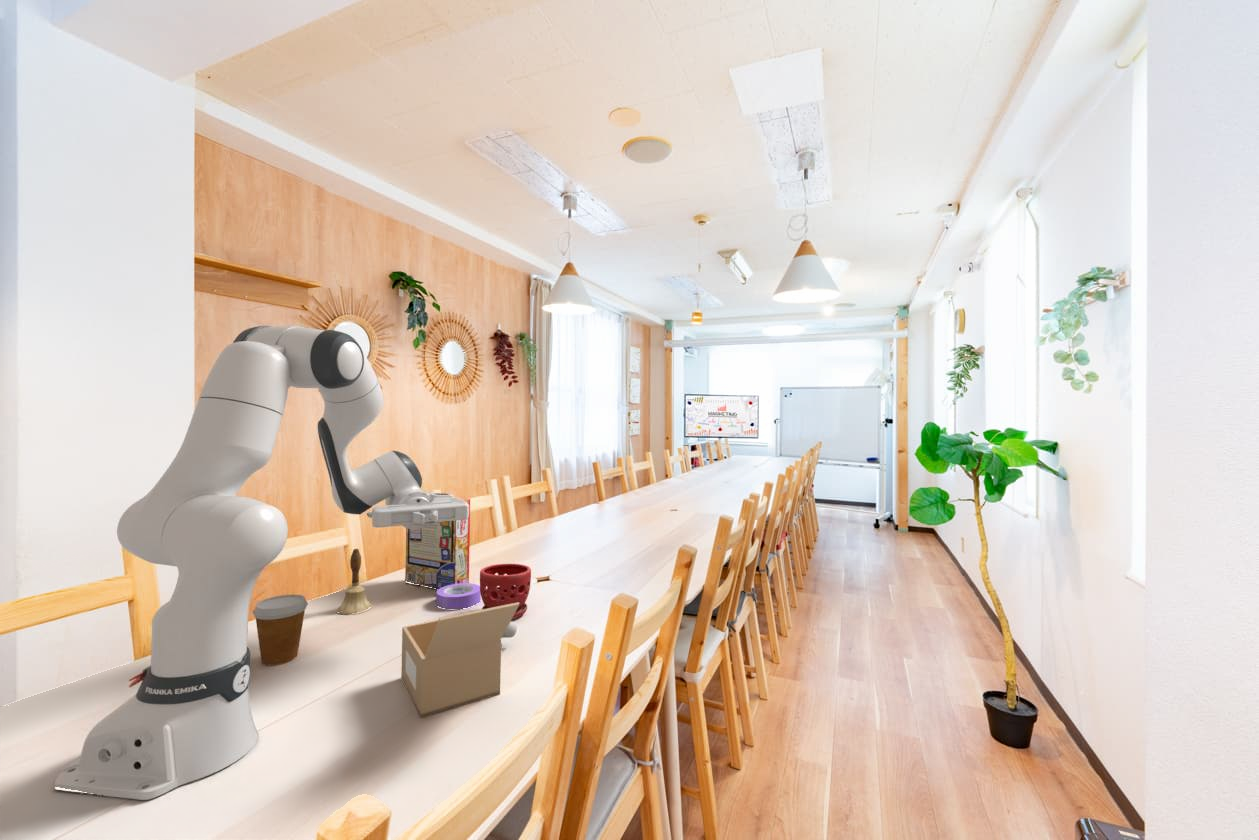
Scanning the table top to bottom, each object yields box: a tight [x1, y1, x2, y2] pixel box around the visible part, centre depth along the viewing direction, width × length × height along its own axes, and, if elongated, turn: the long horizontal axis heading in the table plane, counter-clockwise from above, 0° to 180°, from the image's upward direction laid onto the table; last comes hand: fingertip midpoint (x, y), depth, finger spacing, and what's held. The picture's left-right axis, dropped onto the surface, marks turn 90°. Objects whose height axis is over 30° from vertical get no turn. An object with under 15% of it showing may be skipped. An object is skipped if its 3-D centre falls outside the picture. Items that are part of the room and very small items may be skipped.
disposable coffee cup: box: [252, 594, 309, 666], centre depth 106 cm, size 10×10×12 cm
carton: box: [400, 619, 502, 719], centre depth 97 cm, size 16×14×10 cm
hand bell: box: [336, 548, 372, 615], centre depth 135 cm, size 8×8×16 cm
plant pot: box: [479, 563, 532, 620], centre depth 133 cm, size 13×13×12 cm
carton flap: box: [425, 602, 519, 660], centre depth 87 cm, size 13×13×1 cm
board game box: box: [404, 497, 471, 590], centre depth 154 cm, size 20×6×27 cm, turn 66°
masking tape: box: [435, 582, 482, 610], centre depth 141 cm, size 12×12×4 cm
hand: (429, 519), depth 107 cm, fingers closed
